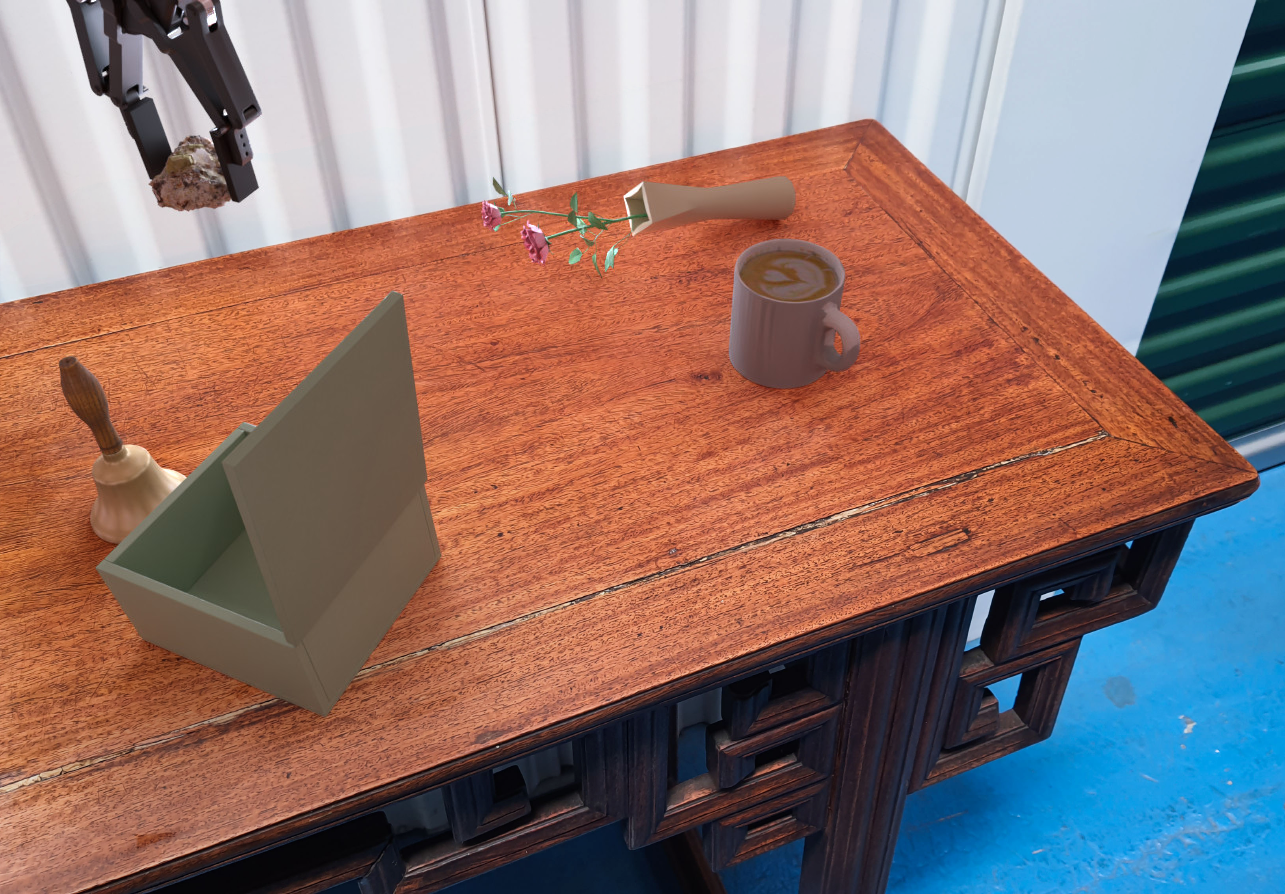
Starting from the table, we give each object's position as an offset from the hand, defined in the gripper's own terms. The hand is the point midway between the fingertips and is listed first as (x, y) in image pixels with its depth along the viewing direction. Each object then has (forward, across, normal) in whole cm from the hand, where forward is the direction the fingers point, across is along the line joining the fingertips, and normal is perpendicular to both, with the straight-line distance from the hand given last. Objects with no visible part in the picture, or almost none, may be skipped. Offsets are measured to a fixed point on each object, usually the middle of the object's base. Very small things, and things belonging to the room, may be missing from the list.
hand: (204, 183), depth 88 cm
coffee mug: (+16, -51, -16) cm, 56 cm away
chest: (+17, -24, +25) cm, 39 cm away
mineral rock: (+1, 0, 0) cm, 1 cm away
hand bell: (+17, -6, +23) cm, 29 cm away
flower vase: (+16, -32, -27) cm, 45 cm away
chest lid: (-1, -32, +25) cm, 41 cm away
